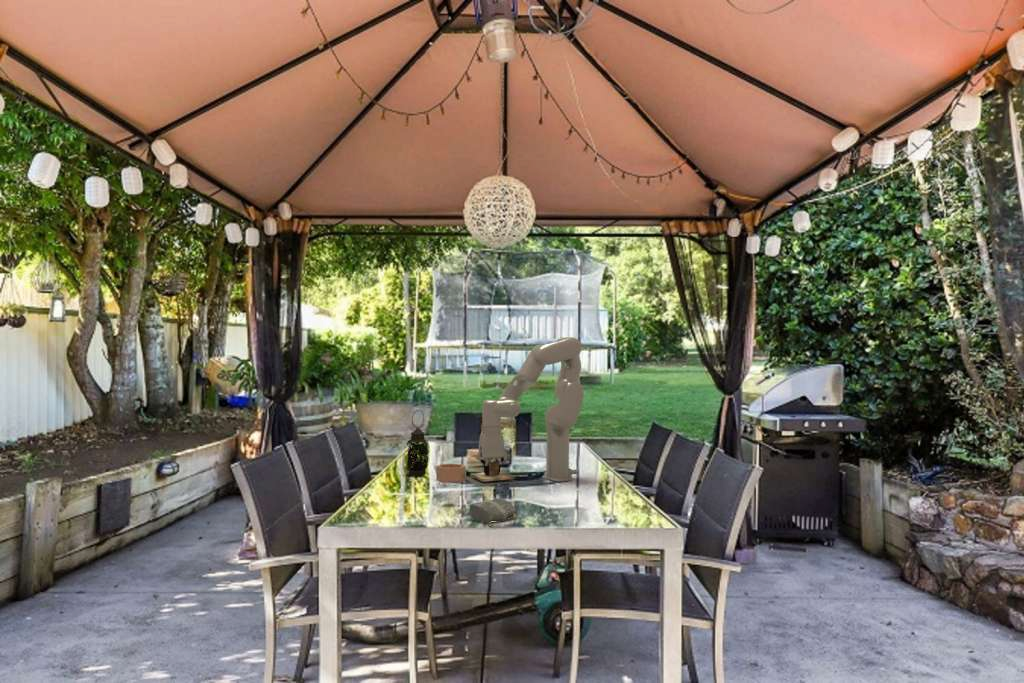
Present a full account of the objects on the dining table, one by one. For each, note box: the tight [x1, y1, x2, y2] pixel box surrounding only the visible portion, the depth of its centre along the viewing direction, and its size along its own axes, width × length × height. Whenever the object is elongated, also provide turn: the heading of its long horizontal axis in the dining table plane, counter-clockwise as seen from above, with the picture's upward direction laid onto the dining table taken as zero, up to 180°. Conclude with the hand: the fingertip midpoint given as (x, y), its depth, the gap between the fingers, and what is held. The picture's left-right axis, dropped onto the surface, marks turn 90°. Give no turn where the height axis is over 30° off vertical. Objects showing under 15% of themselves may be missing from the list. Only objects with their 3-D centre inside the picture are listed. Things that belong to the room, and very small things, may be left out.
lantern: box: [406, 409, 430, 478], centre depth 311 cm, size 10×9×28 cm
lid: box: [469, 461, 516, 482], centre depth 297 cm, size 14×14×6 cm
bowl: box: [435, 463, 467, 483], centre depth 296 cm, size 11×11×7 cm
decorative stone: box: [469, 497, 516, 523], centre depth 233 cm, size 13×10×6 cm
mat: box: [465, 476, 519, 486], centre depth 297 cm, size 18×18×1 cm
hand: (492, 474), depth 297 cm, fingers closed on lid, 4 cm apart
